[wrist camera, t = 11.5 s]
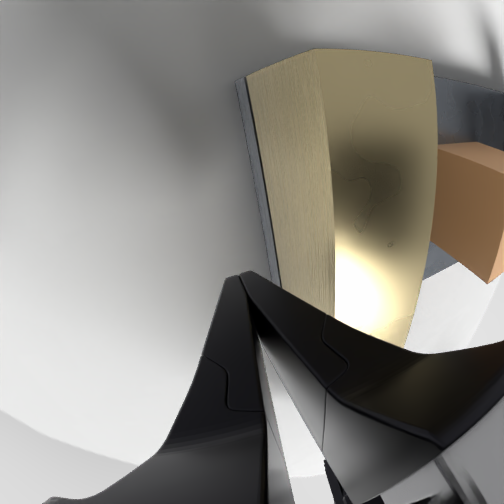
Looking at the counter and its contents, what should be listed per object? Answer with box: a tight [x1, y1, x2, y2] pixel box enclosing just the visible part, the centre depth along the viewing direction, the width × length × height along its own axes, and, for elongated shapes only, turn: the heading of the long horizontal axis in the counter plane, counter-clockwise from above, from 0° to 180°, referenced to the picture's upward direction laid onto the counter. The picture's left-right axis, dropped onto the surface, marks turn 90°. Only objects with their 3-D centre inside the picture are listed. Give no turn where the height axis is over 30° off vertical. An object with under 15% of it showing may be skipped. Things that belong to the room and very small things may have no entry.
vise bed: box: [235, 77, 504, 288], centre depth 11 cm, size 12×22×7 cm, turn 100°
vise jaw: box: [246, 49, 438, 348], centre depth 9 cm, size 12×3×5 cm, turn 10°
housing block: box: [430, 142, 504, 284], centre depth 10 cm, size 5×5×5 cm
